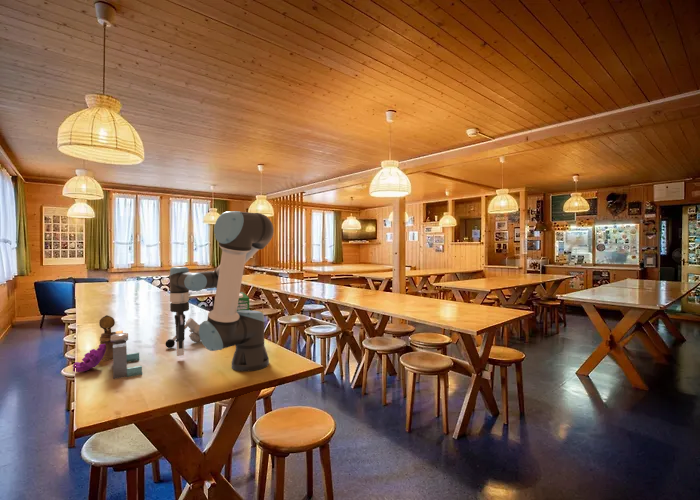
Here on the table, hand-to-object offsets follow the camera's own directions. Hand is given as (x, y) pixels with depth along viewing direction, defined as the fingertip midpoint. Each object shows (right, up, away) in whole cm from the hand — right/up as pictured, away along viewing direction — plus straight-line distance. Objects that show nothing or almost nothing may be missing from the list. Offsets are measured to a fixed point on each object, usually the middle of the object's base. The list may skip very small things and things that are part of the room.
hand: (180, 355), depth 159 cm
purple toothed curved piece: (-31, -3, -13) cm, 34 cm away
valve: (-3, -5, +27) cm, 28 cm away
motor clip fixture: (-17, -2, -11) cm, 20 cm away
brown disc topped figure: (-35, -3, +6) cm, 36 cm away
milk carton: (+16, -2, +32) cm, 36 cm away
